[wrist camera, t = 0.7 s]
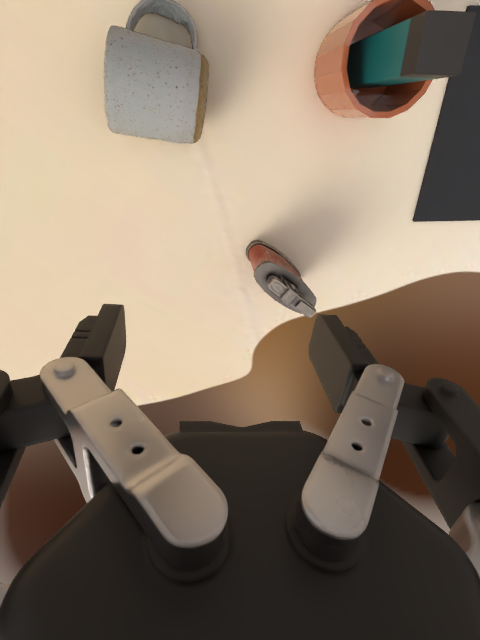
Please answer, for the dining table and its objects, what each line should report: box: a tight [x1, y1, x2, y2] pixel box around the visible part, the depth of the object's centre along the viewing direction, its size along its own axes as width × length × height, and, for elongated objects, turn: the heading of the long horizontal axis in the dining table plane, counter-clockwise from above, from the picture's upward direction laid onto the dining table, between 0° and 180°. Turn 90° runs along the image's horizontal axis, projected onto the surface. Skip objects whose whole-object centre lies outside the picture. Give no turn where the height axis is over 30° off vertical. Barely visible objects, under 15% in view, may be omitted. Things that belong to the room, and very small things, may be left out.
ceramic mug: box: [104, 0, 209, 144], centre depth 30 cm, size 11×8×8 cm
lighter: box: [246, 240, 316, 318], centre depth 40 cm, size 8×3×10 cm, turn 51°
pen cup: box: [314, 0, 434, 118], centre depth 31 cm, size 8×8×8 cm
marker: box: [347, 10, 476, 88], centre depth 28 cm, size 3×3×14 cm
